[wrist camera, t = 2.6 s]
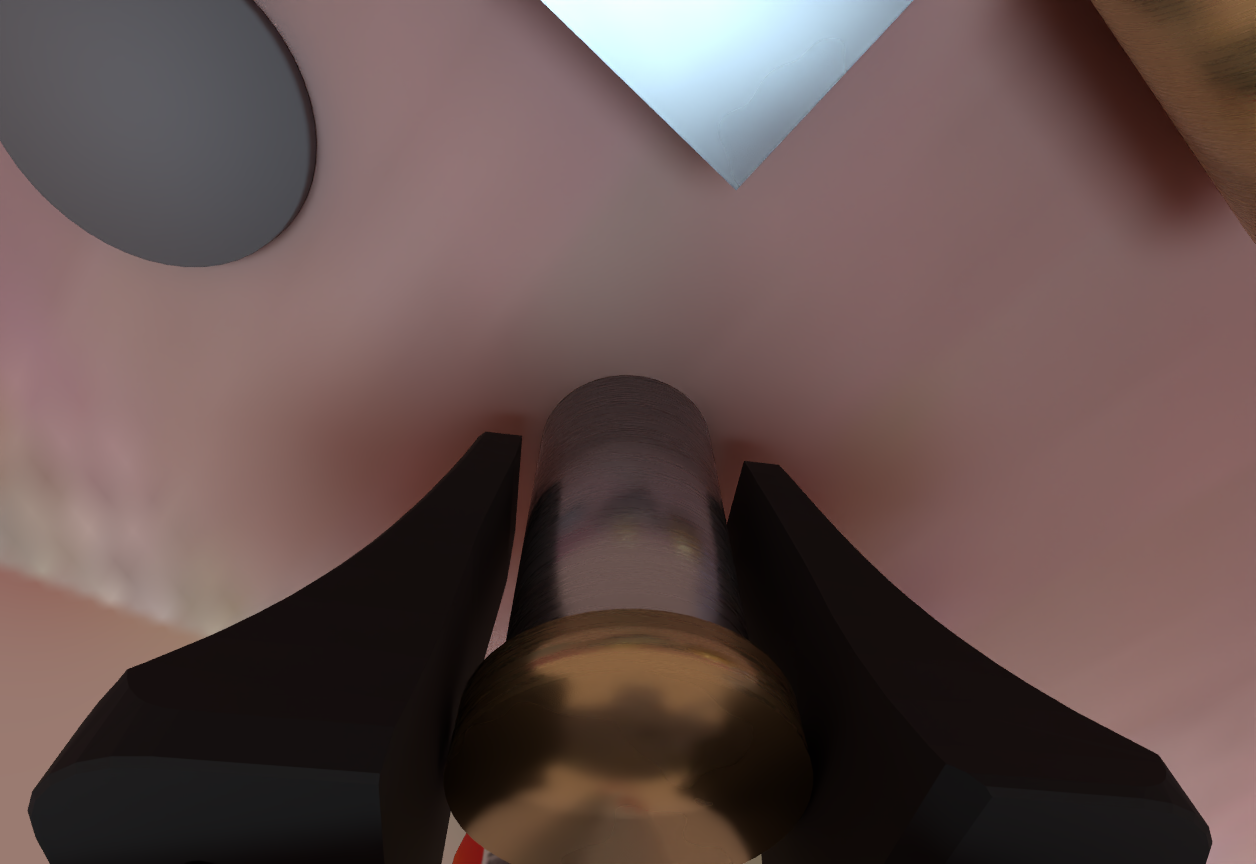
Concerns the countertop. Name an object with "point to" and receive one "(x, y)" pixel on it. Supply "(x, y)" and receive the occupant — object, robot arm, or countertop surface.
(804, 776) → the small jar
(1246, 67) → the fixed leaf
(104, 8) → the pad
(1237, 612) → the countertop surface
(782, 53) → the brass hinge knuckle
